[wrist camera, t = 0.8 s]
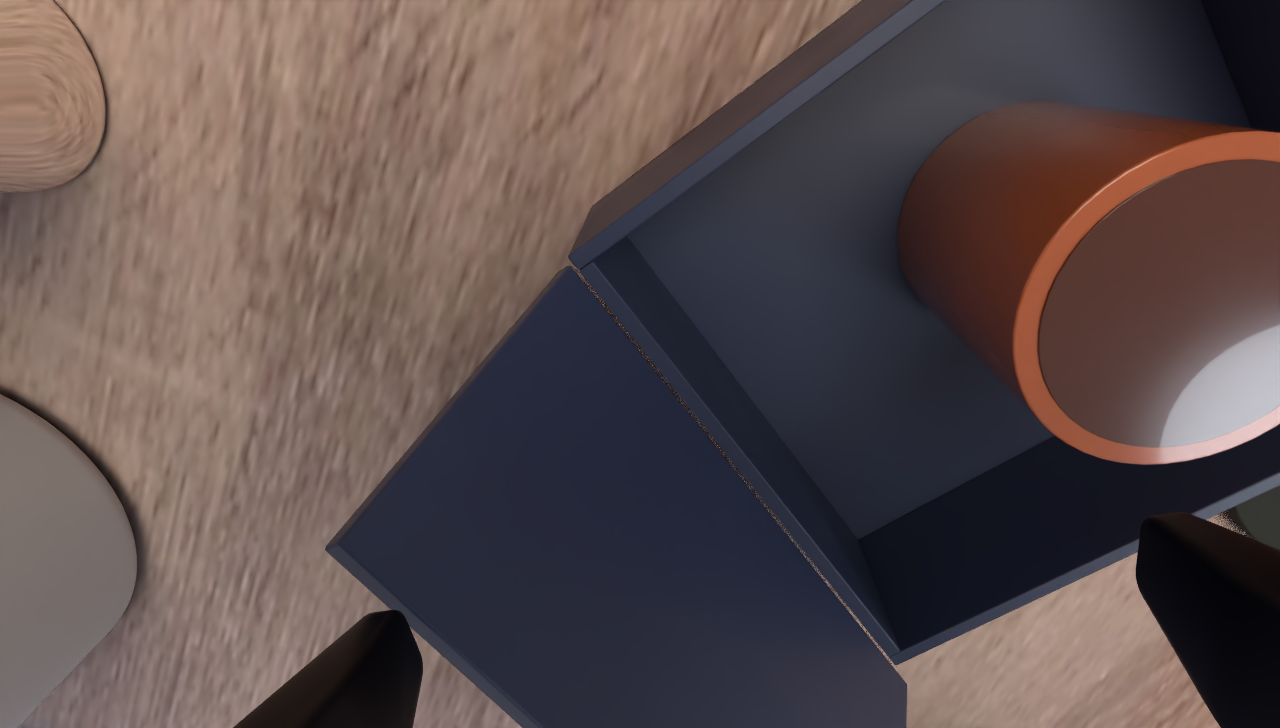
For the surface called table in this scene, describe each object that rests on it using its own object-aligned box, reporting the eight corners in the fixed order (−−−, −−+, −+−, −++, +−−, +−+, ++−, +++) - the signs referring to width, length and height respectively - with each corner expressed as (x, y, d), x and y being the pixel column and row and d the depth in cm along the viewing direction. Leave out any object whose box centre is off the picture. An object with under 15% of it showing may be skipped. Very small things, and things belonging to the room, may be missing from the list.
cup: (1174, 247, 20) (1437, 352, 13) (961, 370, 22) (1096, 519, 15) (1079, 45, 18) (1332, 45, 11) (854, 198, 20) (953, 278, 13)
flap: (908, 684, 20) (894, 685, 20) (570, 264, 15) (557, 272, 15) (899, 1053, 14) (880, 1050, 14) (336, 543, 9) (322, 549, 9)
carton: (851, 544, 25) (895, 666, 20) (591, 206, 21) (567, 256, 16) (1325, 293, 21) (1528, 369, 16) (1129, -204, 16) (1327, -311, 11)
